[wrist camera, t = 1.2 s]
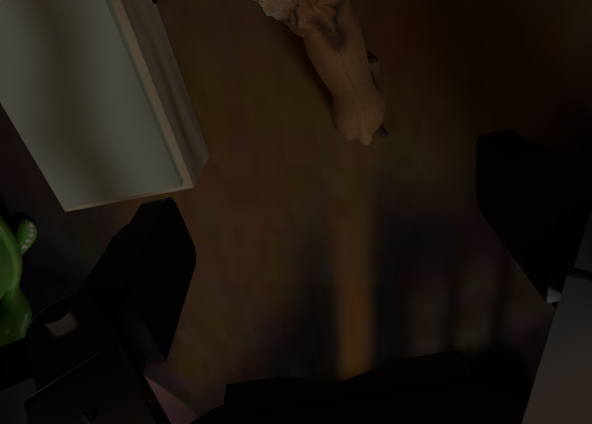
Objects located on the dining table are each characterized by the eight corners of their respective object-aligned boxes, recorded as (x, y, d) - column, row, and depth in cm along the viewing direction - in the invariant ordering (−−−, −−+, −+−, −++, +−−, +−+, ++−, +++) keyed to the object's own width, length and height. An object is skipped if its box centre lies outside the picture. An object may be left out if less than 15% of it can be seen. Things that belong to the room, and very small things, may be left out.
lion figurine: (224, -40, 24) (187, -34, 17) (299, -106, 23) (296, -133, 15) (355, 151, 31) (372, 219, 23) (422, 111, 29) (464, 169, 21)
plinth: (137, -49, 24) (97, -48, 20) (209, 154, 31) (192, 192, 26) (-2, -12, 25) (-72, -3, 21) (96, 176, 32) (61, 216, 27)
